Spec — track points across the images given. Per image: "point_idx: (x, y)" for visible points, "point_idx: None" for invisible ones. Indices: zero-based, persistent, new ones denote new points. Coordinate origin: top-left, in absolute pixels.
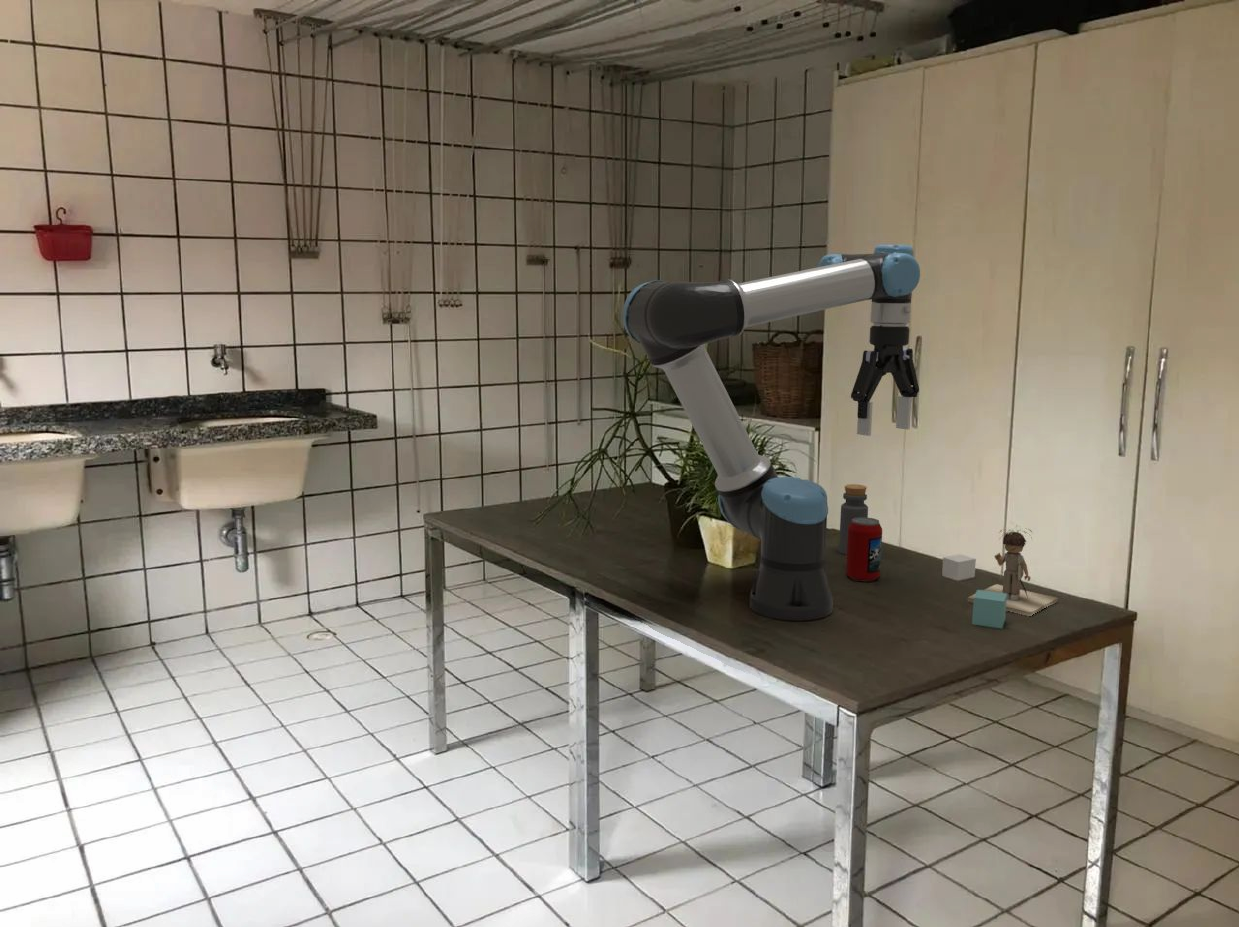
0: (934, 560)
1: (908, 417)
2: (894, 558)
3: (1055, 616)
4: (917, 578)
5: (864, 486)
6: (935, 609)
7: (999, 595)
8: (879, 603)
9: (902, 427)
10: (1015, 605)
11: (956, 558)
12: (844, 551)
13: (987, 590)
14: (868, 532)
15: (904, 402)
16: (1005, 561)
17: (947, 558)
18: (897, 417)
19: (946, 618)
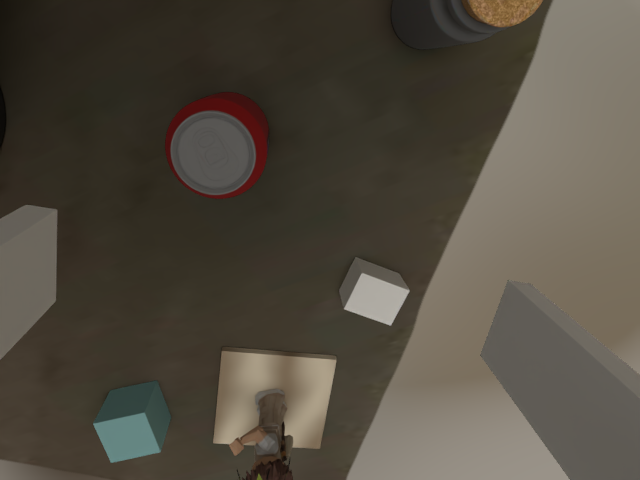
0: (459, 204)
1: (521, 408)
2: (427, 125)
3: (243, 460)
4: (304, 226)
5: (523, 12)
6: (138, 322)
7: (139, 447)
8: (90, 233)
9: (495, 327)
10: (233, 417)
11: (370, 296)
12: (393, 2)
13: (286, 361)
14: (177, 178)
15: (609, 464)
16: (256, 443)
17: (359, 282)
18: (545, 323)
19: (105, 352)
